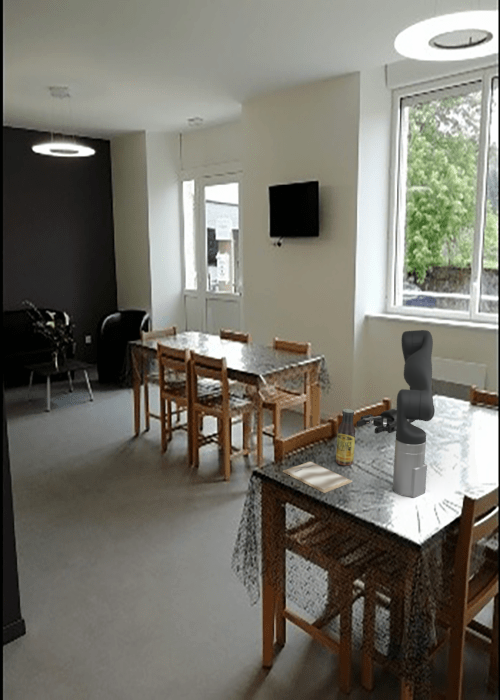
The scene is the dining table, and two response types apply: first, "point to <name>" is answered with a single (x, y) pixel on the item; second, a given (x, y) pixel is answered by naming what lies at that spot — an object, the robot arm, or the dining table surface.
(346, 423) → the sauce bottle
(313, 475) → the notepad
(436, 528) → the dining table surface
